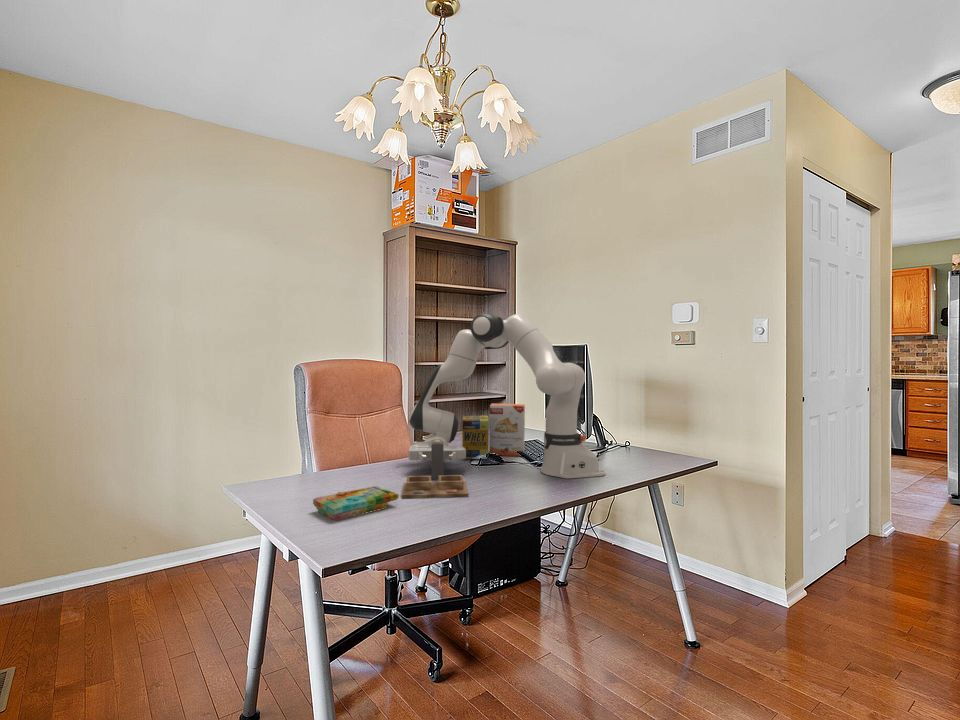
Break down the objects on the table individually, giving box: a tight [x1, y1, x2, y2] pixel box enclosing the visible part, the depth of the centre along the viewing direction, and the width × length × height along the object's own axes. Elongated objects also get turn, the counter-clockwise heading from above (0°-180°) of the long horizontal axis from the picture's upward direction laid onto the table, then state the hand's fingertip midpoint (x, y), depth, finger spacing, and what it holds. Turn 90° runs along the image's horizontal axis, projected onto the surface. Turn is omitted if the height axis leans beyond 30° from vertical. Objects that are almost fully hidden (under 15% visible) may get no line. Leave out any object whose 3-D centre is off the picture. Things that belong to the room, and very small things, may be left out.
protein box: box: [461, 414, 490, 460], centre depth 218 cm, size 10×15×16 cm
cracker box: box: [488, 403, 526, 458], centre depth 219 cm, size 14×6×21 cm, turn 81°
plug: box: [430, 440, 444, 480], centre depth 183 cm, size 4×4×13 cm
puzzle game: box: [312, 485, 399, 521], centre depth 149 cm, size 12×5×20 cm
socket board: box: [400, 474, 470, 499], centre depth 167 cm, size 20×14×4 cm
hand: (437, 457), depth 182 cm, fingers open, 8 cm apart
